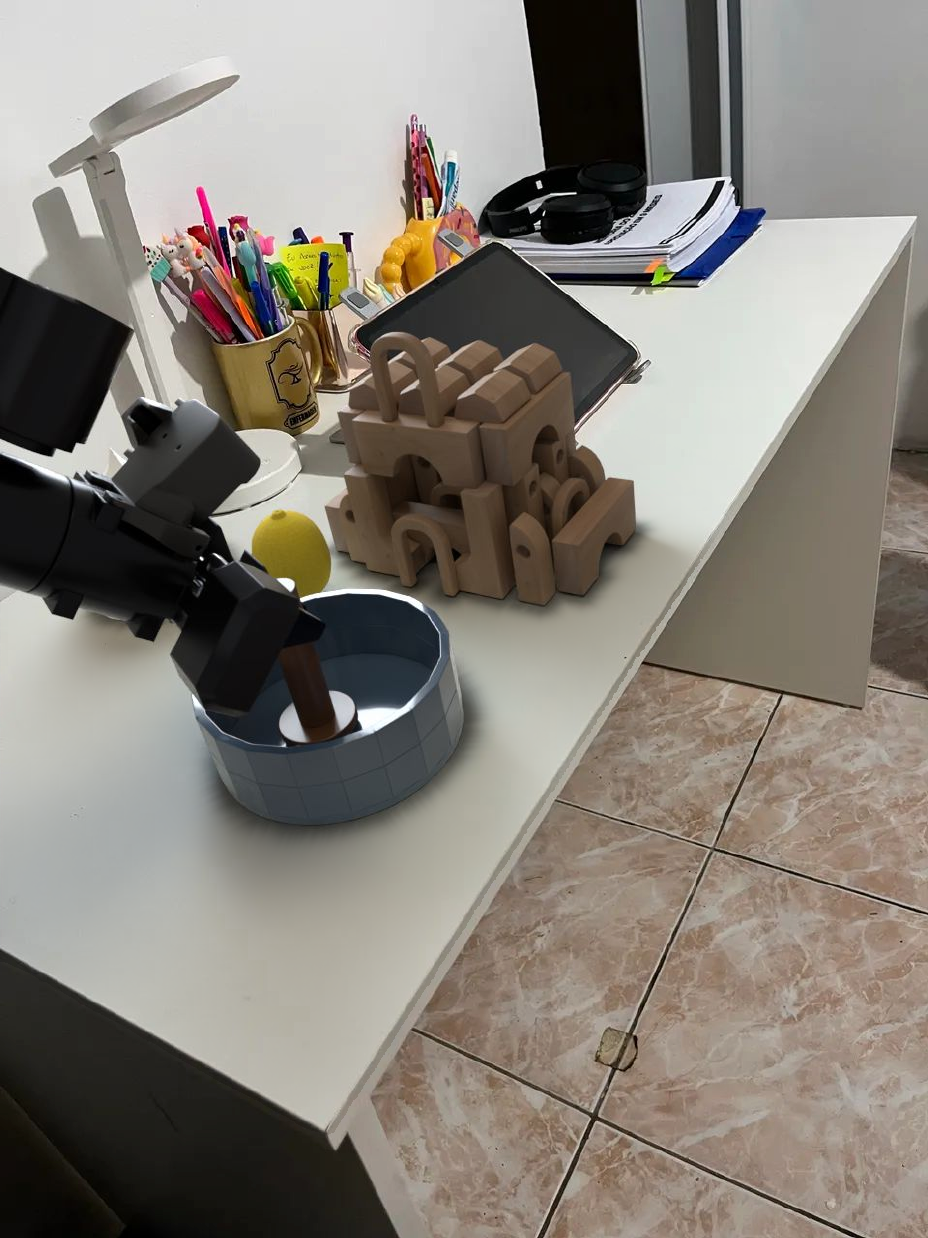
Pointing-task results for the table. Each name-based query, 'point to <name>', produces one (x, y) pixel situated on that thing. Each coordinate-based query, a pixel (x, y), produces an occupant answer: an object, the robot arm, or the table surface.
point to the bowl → (387, 716)
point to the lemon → (293, 550)
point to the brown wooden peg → (311, 696)
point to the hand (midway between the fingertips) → (311, 622)
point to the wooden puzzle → (474, 472)
